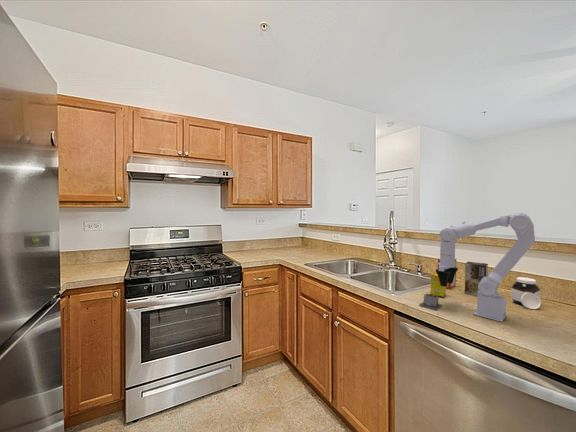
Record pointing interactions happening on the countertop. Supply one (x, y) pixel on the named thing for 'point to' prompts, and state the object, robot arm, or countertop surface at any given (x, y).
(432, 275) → the supplement box
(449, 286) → the baking soda box
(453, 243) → the robot arm
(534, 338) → the countertop surface
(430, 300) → the octagonal tube
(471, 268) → the coffee box
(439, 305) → the square base with peg
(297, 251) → the countertop surface
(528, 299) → the spread jar
